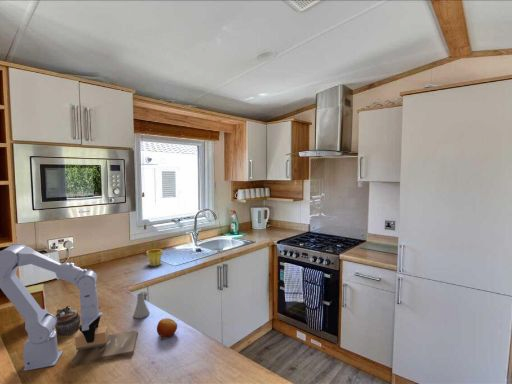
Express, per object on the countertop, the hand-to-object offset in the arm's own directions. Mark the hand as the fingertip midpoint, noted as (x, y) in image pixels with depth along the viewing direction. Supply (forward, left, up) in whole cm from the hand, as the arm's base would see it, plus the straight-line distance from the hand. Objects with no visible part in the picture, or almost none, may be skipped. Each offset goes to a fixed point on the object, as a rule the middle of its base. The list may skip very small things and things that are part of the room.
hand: (92, 338), depth 110 cm
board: (+5, 0, -5) cm, 7 cm away
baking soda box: (-30, +31, -5) cm, 43 cm away
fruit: (+27, +2, -5) cm, 28 cm away
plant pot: (+17, +94, -5) cm, 96 cm away
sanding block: (0, 0, -2) cm, 2 cm away
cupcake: (-14, +19, -5) cm, 24 cm away
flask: (+15, +23, -5) cm, 28 cm away
